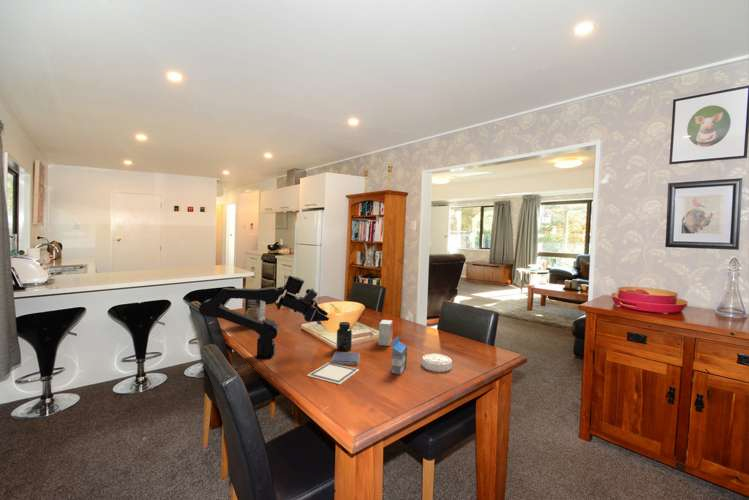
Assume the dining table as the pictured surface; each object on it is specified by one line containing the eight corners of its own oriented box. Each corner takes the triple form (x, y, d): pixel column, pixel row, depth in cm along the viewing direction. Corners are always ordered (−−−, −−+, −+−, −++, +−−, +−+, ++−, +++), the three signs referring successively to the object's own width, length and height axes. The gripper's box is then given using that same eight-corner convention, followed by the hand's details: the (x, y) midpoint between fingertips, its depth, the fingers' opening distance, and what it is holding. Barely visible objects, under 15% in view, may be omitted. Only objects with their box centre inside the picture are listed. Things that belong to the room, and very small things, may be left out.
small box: (389, 346, 155) (390, 324, 154) (378, 345, 156) (379, 323, 156) (392, 341, 163) (393, 320, 162) (381, 340, 164) (382, 319, 163)
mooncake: (429, 373, 126) (429, 364, 126) (417, 361, 137) (417, 353, 137) (457, 371, 129) (457, 362, 129) (443, 359, 141) (443, 351, 140)
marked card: (307, 375, 119) (307, 374, 119) (328, 363, 132) (328, 361, 132) (339, 384, 113) (339, 383, 113) (359, 370, 126) (359, 369, 126)
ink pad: (330, 364, 131) (330, 360, 131) (334, 354, 142) (335, 351, 142) (358, 365, 131) (358, 362, 131) (360, 355, 142) (360, 352, 142)
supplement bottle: (336, 346, 152) (337, 320, 152) (351, 346, 153) (352, 321, 152) (336, 351, 145) (336, 324, 145) (351, 351, 146) (352, 325, 146)
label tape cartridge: (400, 375, 123) (401, 342, 122) (390, 373, 124) (391, 341, 124) (406, 366, 131) (407, 336, 131) (397, 365, 132) (398, 335, 132)
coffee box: (244, 326, 179) (244, 297, 179) (250, 323, 186) (250, 295, 185) (259, 328, 178) (260, 298, 177) (265, 324, 184) (265, 296, 183)
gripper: (302, 289, 130) (337, 304, 133) (302, 282, 148) (334, 295, 151) (290, 315, 130) (326, 329, 133) (292, 305, 148) (324, 318, 151)
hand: (328, 316), depth 142 cm, fingers open, 9 cm apart
